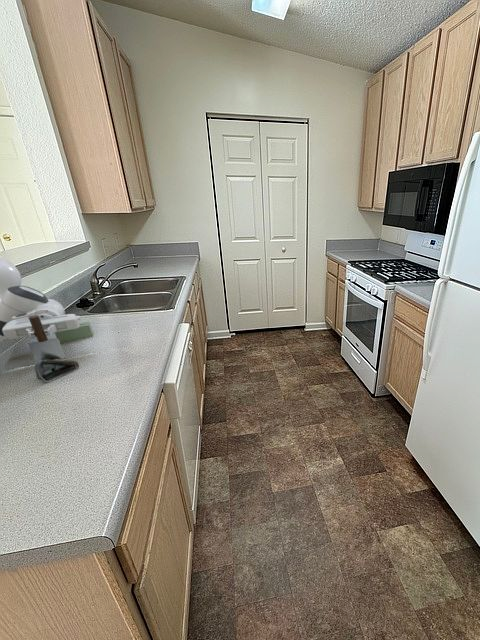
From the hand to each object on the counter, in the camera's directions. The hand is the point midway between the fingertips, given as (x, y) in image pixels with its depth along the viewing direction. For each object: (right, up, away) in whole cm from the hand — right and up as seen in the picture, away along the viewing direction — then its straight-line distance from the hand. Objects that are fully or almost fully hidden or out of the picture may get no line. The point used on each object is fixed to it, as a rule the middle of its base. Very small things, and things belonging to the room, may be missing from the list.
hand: (39, 333), depth 103 cm
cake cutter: (0, -8, +5) cm, 10 cm away
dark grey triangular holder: (0, -13, +7) cm, 15 cm away
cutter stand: (-11, 0, +33) cm, 35 cm away
